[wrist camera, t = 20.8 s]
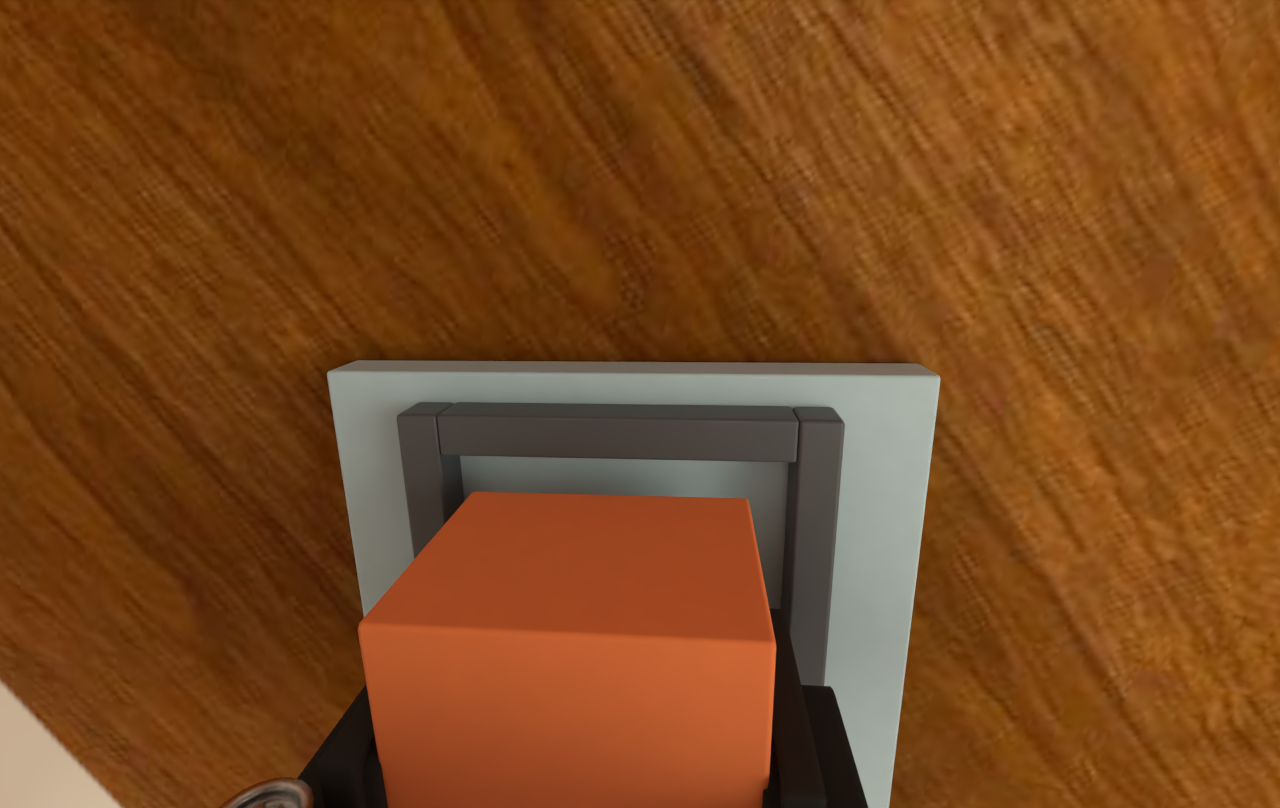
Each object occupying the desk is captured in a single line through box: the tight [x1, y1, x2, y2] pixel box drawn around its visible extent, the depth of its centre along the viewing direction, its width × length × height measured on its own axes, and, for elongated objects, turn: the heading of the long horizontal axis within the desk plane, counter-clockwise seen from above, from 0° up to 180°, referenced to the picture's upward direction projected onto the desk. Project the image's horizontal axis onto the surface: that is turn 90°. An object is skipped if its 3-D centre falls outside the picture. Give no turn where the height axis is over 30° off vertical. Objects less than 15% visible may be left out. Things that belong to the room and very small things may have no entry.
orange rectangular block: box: [358, 492, 776, 808], centre depth 10 cm, size 5×7×4 cm
